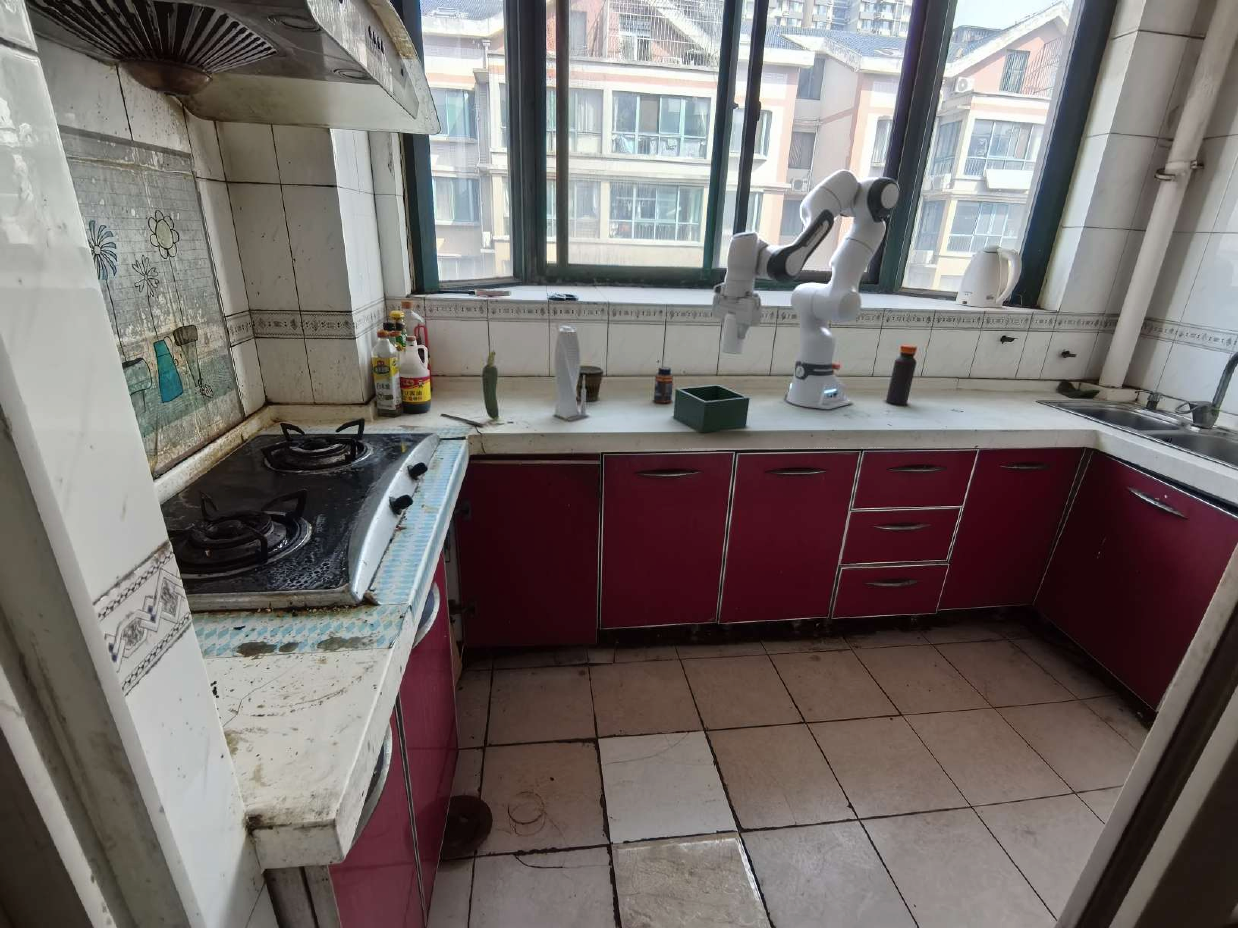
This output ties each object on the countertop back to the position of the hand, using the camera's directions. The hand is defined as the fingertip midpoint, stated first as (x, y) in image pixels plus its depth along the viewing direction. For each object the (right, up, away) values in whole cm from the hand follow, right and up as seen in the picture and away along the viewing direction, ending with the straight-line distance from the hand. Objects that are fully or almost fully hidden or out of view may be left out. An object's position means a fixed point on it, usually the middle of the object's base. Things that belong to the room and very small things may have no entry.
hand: (733, 336), depth 182 cm
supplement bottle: (-21, -19, +15) cm, 32 cm away
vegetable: (-72, -27, -11) cm, 78 cm away
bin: (-8, -27, -4) cm, 28 cm away
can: (0, -5, +2) cm, 5 cm away
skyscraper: (-51, -25, -5) cm, 57 cm away
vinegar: (+62, -18, +26) cm, 70 cm away
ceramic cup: (-47, -18, +13) cm, 52 cm away
